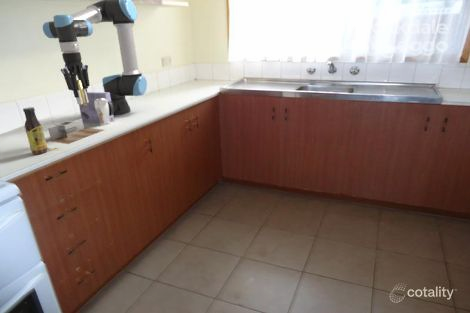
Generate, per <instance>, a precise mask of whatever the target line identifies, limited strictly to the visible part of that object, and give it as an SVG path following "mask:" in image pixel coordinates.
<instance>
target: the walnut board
mask: <svg viewBox="0 0 470 313" xmlns="http://www.w3.org/2000/svg"><path fill="white" fill-rule="evenodd" d="M103 131H105V129H102V128H100V129H99V128H93V127H84V129H83V130H80V131H78V133H79V134H76V135H73V136H71V137H68V138H67V137H61V138H58V139H55V140H51V138H48V139H45V140H46V142H50V143H51V142H52V143H59V144H66V145H69V144H72V143H74V142H77V141H79V140H80V141H81V140H82V139H85V138H87V137H88V138H89V137H91V136H93V135H96V134H98V133H100V132H103Z"/></svg>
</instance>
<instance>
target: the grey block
mask: <svg viewBox="0 0 470 313" xmlns="http://www.w3.org/2000/svg"><path fill="white" fill-rule="evenodd" d="M59 125H61V129H64V130H66V129H69V128H72V127H75V126H77V130H74V131H71V132H68V133H63V137H67V138H68V137H71V136H73V135H76V134H79V133H78V131H80V130H83V129H84V128H85V126H84V123H83V121H82V118H78V119H74V120H70V121H69V120H66V121H62V122H59V123H56V124H55V127H56V126H59Z"/></svg>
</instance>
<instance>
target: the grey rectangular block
mask: <svg viewBox="0 0 470 313" xmlns="http://www.w3.org/2000/svg"><path fill="white" fill-rule="evenodd" d="M47 130H48V133H49V136H50V139H51V140H55V139H58V138H61V137H63V133H68V132H71V131H74V130H77V126H75V127H72V128H69V129H66V130H64V129H61V125H59V126H56V125H55V126H53V127H50V128H48V129H47Z"/></svg>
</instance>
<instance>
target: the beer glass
mask: <svg viewBox="0 0 470 313" xmlns="http://www.w3.org/2000/svg"><path fill="white" fill-rule="evenodd" d="M94 105H95V110H96V113H97V115H98V118H99V121H100V122H99V125H100V126H109V125H111V124H112V122H110V118H109V105H108V101H107V98H98V99H94Z"/></svg>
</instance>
